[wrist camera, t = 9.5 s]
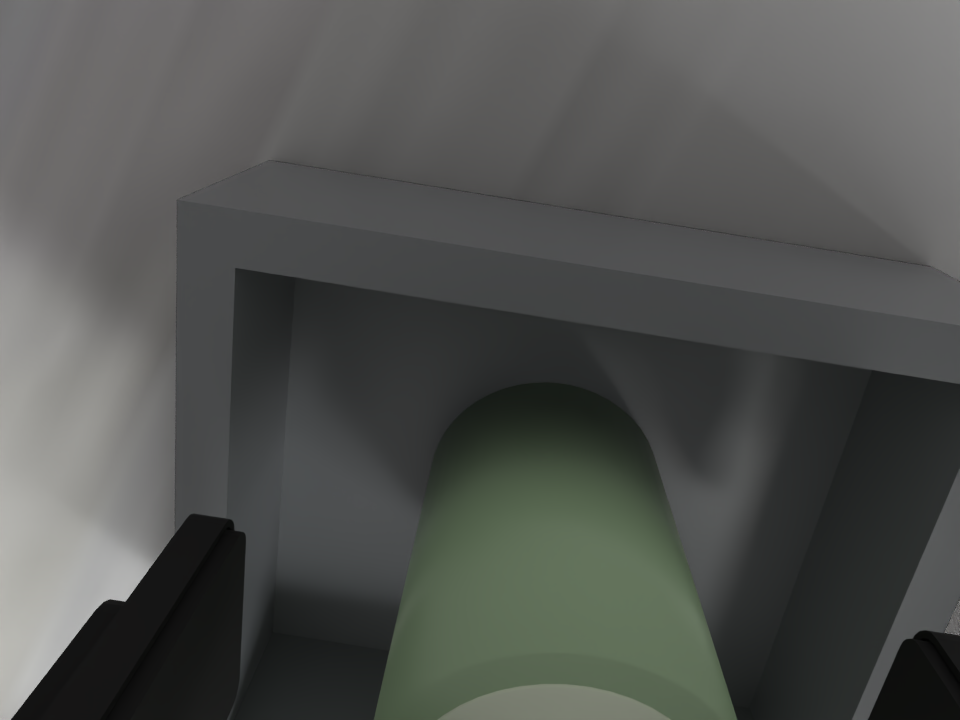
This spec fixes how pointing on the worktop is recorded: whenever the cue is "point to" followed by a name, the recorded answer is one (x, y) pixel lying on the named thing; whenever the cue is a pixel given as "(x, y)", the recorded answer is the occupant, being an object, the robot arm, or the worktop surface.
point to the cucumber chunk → (549, 575)
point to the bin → (573, 361)
